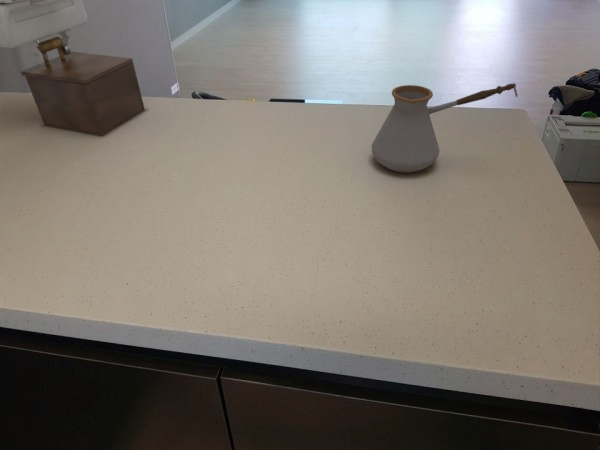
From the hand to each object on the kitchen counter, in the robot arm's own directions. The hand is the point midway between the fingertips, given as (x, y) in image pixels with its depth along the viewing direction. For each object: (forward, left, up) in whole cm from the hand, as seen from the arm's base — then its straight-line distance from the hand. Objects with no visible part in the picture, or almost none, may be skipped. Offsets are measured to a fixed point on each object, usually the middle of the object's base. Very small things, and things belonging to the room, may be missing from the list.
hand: (55, 58), depth 93 cm
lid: (+6, 0, -1) cm, 6 cm away
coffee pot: (+77, +4, -12) cm, 78 cm away
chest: (+6, 0, -12) cm, 14 cm away
